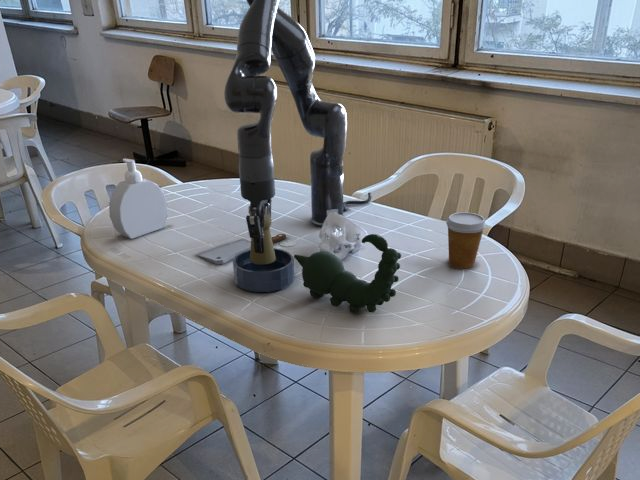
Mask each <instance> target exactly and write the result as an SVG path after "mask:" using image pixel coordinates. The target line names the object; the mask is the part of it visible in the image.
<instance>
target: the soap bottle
mask: <svg viewBox="0 0 640 480" xmlns="http://www.w3.org/2000/svg"><path fill="white" fill-rule="evenodd" d="M122 161H123V163H125V164H126V167H127V170H126V172H125V173H124V180H123V181H119V183H118V184H117V185H116V187H115V188H114V189H113V190H112V192H111V195H110V200H109V202H108V212H109V218H110V221H111V223H112V226H113V229H115V231H117V233H118V234H119V235H120V236H122V237H125V238H128V239H130V240H134V239H136V238H139V237H142V236H145V235H147V234H150V233H153V232H156V231H159V230H161V229H164V228H165V226H166V223H167V220H168V216H169V214H168V212H169V210H168V209H169V208H168V207H169V205H168V201H167V198H166V195H165V192H164V190H162V188H161V187H160V186H159V184H158V183H157V184H156V183H155V182H153V181H151V180H149V179H146V178H143V176H142V173H141V171H140V170H137V167H136V161H135V159H131V158H123V159H122Z"/></svg>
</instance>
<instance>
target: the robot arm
mask: <svg viewBox="0 0 640 480" xmlns="http://www.w3.org/2000/svg"><path fill="white" fill-rule="evenodd" d="M245 1H246V3H247V4H248V7H249V8H248V9H247V11H246V13H245V15H244V16H243V18H242V20H241V22H240V25H239V29H238V33H237V43H236V55H235V59H234V62H233V64H232V67H231V70H230V73H229V74H228V77H227V79H226V83H225V86H224V93H223V96H224V101H225V105H226V106H227V108H228V110H230V111H231V112H233V113H236V114H259V119H258V120H256V121H254V122H250V123H246V124H242V125H240V126H239V127H238V128H237V131H236V139H237V148H238V149H237V150H238V174H239V175H238V176H239V185H240V186H239V187H240V195H241V197H242V198H243V199H244V200H246V201H249V206H248V215H246V216H245V220H246V224H247V225H246V226H247V229H248V230H247V231H248V235H249V238H250V239H251V238H254V250H255V253H264V229H263V228H264V227H265V226H266V214H269V215H270V217H271V218H272V199H273V198H274V197H275V196H276V184H275V183H276V182H275V167H274V166H275V165H274V158H273V154H272V153H273V151H272V124H273V117H274V114H275V108H276V105H277V99H278V88H277V84H276V82H275V81H274V80H273V78H272V77H270V76H268V75H264V74H266V73H267V72H268V71H269V69H270V66H271V62H272V61H271V59H272V55H273V57H274V58H275V62H276V63H277V65H278V68H279V69H280V71H281V73H282V75H283V77H284V80H285V82H286V84H287V86H288V89H289V91H290V93H291V96H292V98H293V100H294V103H295V106H296V109H297V112H298V115H299V118H300V121H301V124H302V127H303V128H304V130H305V131H306V133H308V134H309V135H311V136H312V137H316V138H321V139H323V146H322V148H317V149H315V150H313V151H311V152H310V155H309V167H310V168H309V169H310V197H311V198H310V200H311V208H310V209H311V224H312V225H314V226H316V227H320V228H322V226H323V223H324V221H325V219H326V217H327V216H328V214H329V213H330V212H333V213H336V214H339V215H342V216H344V212H347V211H348V208H347V205H366V204H368V203H370V202H371V201H372V197H373V194H372V192H370V191H369V192H368V193H367V199H364V200H347V201H344V157H345V154H346V148H347V132H348V131H347V129H348V120H347V119H348V116H347V112H346V108H345V107H344V106H343V105H342V104H341V103H338V102H332V101H324V100H321V99H320V98H319V96H318V95H317V92H316V90H315V88H314V85H313V77H314V72H315V66H316V55H315V52H314V49H313V47H312V44H311V42H310V39H309V36H308V34H307V32H306V30H305V29H304V27H303V26H302V25H301V24H300V23H299V22H298V21H296V20H295V19H294V17H292V16H291V15H289V14H288V13H287V12H285V11H284V10H283V9H281V8H280V7H279V4H280V0H245ZM259 221H262V224H260V223H259ZM255 231H257V232H255Z"/></svg>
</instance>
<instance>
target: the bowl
mask: <svg viewBox="0 0 640 480" xmlns="http://www.w3.org/2000/svg"><path fill="white" fill-rule="evenodd" d="M274 252H275V257H276V260H275V261H274V262H272V263H269V264H263V265H261V264H254V263H252V262H251V261H250V250H247V251H244V252H241V253H239V254H238V255H236V256H235V257H234V258H233V259H232V267H233V278H234V284H235V285H236V286H237V287H238V288H241V289H243V290H245V291H249V292H255V293H270V292H271V293H272V292H276V291H279V290H283V289H284V288H287V287H288V286H290V285H291V284H292V283H294V280H295V278H296V275H295V273H296V271H295V258H294V255H293V254H292V253H291V252H290V251H287V250H284V249H282V248H276V247H274Z"/></svg>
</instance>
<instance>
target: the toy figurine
mask: <svg viewBox="0 0 640 480" xmlns="http://www.w3.org/2000/svg"><path fill="white" fill-rule="evenodd" d="M362 243H365V244H366V243H369V244H371V245H372V246H374V247H375V249H377V250H378V251H380V252H382V253H381V259H380V261H379V262H378V265H377V269H378V270H377V271H376V272H375V273H374V279H372V280H371V281H370V282H367V281H366V280H364V279H361V278H359V279H358V277H357V276H356V275H355V274H354V273H353V272H351V271H349V270H346V269H345V266H344V262H343V261H342V260H340V259H339V258H338V257H337V256H336V255H334V254H333V253H334V252H333V253H330V252H327V251H316V252H313V253H311V254H310V255H308V256H307V255H301V254H294V255H293V258H294V260H296V262H297V263H298V264H299V266H300V267H301V277H302V285H303V287H304V288H306V289H308V290H309V295H310V297H312V298H313V299H316V300H318V299H322V298H323V297H324V296H325V295H330V296H331V297H330V299H329V302H330V305H331V306H332V307H334V308H335V307H336V308H338V307H339V306H340V305H341V304H342V303H345V302H346V303H347V304H348V311H349V312H350V313H352V314H354V313H355V314H356V313H357V312H358V309H361V308H365V307H366V312H368V313H369V314H370V313H371V314H372V313H374V312H375V311H376V310H377V306H382V305H383V304H384V303H388V302H390V301H391V298H393V297H396V294H397V291H396V289H394V288H392V286H393V284H394V283H398V282H399V279H400V277H399V276H398V275H397V274H396V272H397V271H398V270H400V268H401V264H400V263H399V262H398V261H399V260H400V259H401V258H402V253H401V252H398V251H397V250H396V249H395V248H392V247H389V244H388V242H387V239H386V238H384V237H383V236H382V235H380V234H376V233H370V234H368V235H367V236H365V237H364V238H363V239H362ZM388 247H389V248H388Z"/></svg>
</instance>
